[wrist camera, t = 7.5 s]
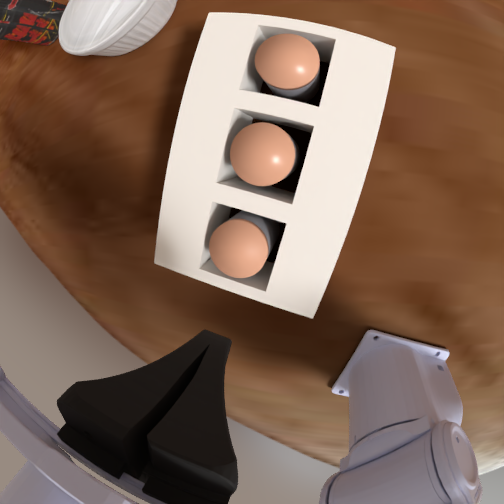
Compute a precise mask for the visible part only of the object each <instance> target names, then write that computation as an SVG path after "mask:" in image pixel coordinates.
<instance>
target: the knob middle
mask: <svg viewBox="0 0 504 504" xmlns="http://www.w3.org/2000/svg"><path fill="white" fill-rule="evenodd" d="M230 160H231V164H232V167H233V169H234V171H235V172H236V173H237V175H238V176H239V177H240V178H241V179H242V180H244V181H245V182H247V183H249V184H252V185H256V186H269V185H273V184H275V183H277V182H279V181H281V180H283V179H285V178H286V177H288V176H290V175H291V174H292V173H293V172H294V171H295V170H296V168H297V167H298V165H299V162H300V150H299V147H298V145H297V143H296V141H295V140H294V139H293V138H292V137H291V136H290V135H288V134H287V133H286V132H285V131H284V130H282V129H281V128H280V127H278V126H276V125H274V124H271V123H265V122H260V123H254V124H251V125H248V126H246V127H245V128H243V129H242V130H241V131H240V132H239V133H238V134H237V135H236V136H235V138H234V140H233V142H232V144H231V148H230Z"/></svg>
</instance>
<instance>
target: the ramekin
mask: <svg viewBox="0 0 504 504" xmlns="http://www.w3.org/2000/svg"><path fill="white" fill-rule="evenodd" d="M176 2H177V0H70V1H69V3H68V5H67V6H66V9H65V11H64V13H63V15H62V17H61V20H60V24H59V41H60V44H61V46H62V48H63V49H64V50H65V51H66V52H68V53H70V54H73V55H78V56H86V55H103V56H116V55H122V54H125V53H128V52H131V51H133V50H135V49H137V48H138V47H140V46H142V45H143V44H145V43H146V42H148V41H149V40H150V39H152V38H153V37H154V36H155V35H156V34H157V33H158V32H159V31H160V30H161V29H162V28H163V27H164V26H165V24H166V23H167V22H168V20H169V18H170V17H171V15H172V13H173V11H174V8H175V6H176Z"/></svg>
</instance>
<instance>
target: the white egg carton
mask: <svg viewBox="0 0 504 504" xmlns="http://www.w3.org/2000/svg"><path fill="white" fill-rule="evenodd" d="M278 34H295V35H299V36H302V37H304V38H306V39H307V40H309V41H310V42H311V43H312V44H313V45H314V46H315V48H316V49H317V51H318V54H319V59H320V61H322V62H326V63H330V66H329V70H328V74H327V78H326V82H325V86H324V90H323V94H322V98H321V102H320V105H319V107H317V106H313V105H310V104H306V103H302V102H298V101H294V100H290V99H286V98H281V97H277V96H272V95H267V94H262V93H260V91H261V87H262V84H263V79H262V77H261V76H260V75H259V73H258V71H257V69H256V66H255V54H256V52H257V50H258V48H259V46H260V45H261V44H262V43H263V42H264V41H265V40H267V39H268V38H270V37H272V36H275V35H278ZM394 55H395V47H393V46H390V45H388V44H385V43H382V42H380V41H377V40H374V39H371V38H368V37H365V36H362V35H359V34H355V33H352V32H349V31H345V30H341V29H338V28H334V27H330V26H326V25H321V24H317V23H312V22H307V21H302V20H296V19H290V18H283V17H276V16H267V15H257V14H244V13H209V15H208V17H207V20H206V23H205V26H204V28H203V31H202V34H201V37H200V40H199V43H198V46H197V49H196V52H195V56H194V59H193V62H192V65H191V69H190V72H189V76H188V79H187V83H186V87H185V90H184V94H183V98H182V102H181V106H180V110H179V114H178V118H177V122H176V127H175V131H174V136H173V141H172V146H171V150H170V156H169V161H168V166H167V172H166V177H165V183H164V189H163V196H162V202H161V209H160V217H159V224H158V232H157V241H156V250H155V260H154V263H155V264H158V265H160V266H163V267H165V268H168V269H170V270H173V271H176V272H178V273H181V274H184V275H186V276H189V277H192V278H194V279H197V280H200V281H202V282H205V283H208V284H211V285H213V286H216V287H219V288H222V289H225V290H227V291H230V292H233V293H236V294H239V295H242V296H245V297H248V298H251V299H253V300H256V301H259V302H262V303H265V304H268V305H271V306H274V307H277V308H280V309H284V310H287V311H290V312H293V313H296V314H299V315H302V316H306V317H309V318H312V319H313V317H314V315H315V313H316V310H317V308H318V306H319V303H320V301H321V299H322V296H323V294H324V291H325V289H326V286H327V284H328V282H329V279H330V277H331V274H332V272H333V269H334V266H335V264H336V261H337V259H338V256H339V253H340V251H341V248H342V245H343V243H344V240H345V237H346V234H347V231H348V229H349V226H350V223H351V220H352V217H353V214H354V211H355V208H356V205H357V202H358V199H359V196H360V193H361V190H362V186H363V183H364V180H365V177H366V173H367V170H368V167H369V163H370V160H371V156H372V153H373V149H374V145H375V141H376V138H377V134H378V130H379V126H380V122H381V118H382V114H383V109H384V105H385V101H386V96H387V91H388V87H389V82H390V77H391V71H392V66H393V60H394ZM253 119H258V120H263V121H267V122H271V123H276V124H280V125H284V126H288V127H292V128H295V129H299V130H303V131H306V132H310V133H312V136H311V139H310V143H309V147H308V150H307V154H306V158H305V161H304V165H303V168H302V172H301V175H300V179H299V183H298V186H297V190H296V193H293V192H289V191H286V190H283V189H279V188H276V187H272V186H256V185H252V184H249V183H247V182H245V181H244V180H242V179H241V178H240V177H239V176H238V175H237V173H236V172H235V171H234V169H233V167H232V164H231V160H230V148H231V144H232V142H233V140H234V138H235V136H236V135H237V134H238V133H239V132H240V131H241V130H242V129H243V128H245V127H246V126H248V125H251V124H252V121H253ZM231 207H233V208H237V209H240V210H242V211H240V212H239V213H237V214H236V215H234V216H233V217H232V218H230V219H229V215H230V211H231ZM278 221H280V222H283V223H286V227H285V231H284V234H283V237H282V241H281V244H280V247H279V251H278V254H277V257H276V261H275V264H274V263H271V262H268V261H266V260H267V258H268V256H269V254H270V252H271V250H272V248H273V246H274V244H275V243H276V241H277V239H278V236H279V231H280V228H279V223H278Z"/></svg>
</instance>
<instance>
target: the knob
mask: <svg viewBox="0 0 504 504" xmlns="http://www.w3.org/2000/svg"><path fill="white" fill-rule="evenodd" d="M255 66H256V69H257V71H258V73H259V75H260V76H261V77H262V79H263V80H264V81H265V82H266V84H267V85H268V87H269V88H270V89H271V91H272V92H273V93H274V95H275V96H277V97H281V98H286V99H290V100H294V101H298V102H302V103H305V102H307V101H309V100H311V99H312V98H313V97H314V96H315V95H316V94H317V92H318V90H319V86H320V59H319V54H318V51H317V49H316V48H315V46H314V45H313V44H312V43H311V42H310V41H309V40H307V39H306V38H304V37H302V36H299V35H295V34H278V35H275V36H272V37H270V38H268V39H267V40H265V41H264V42H263V43H262V44H261V45H260V46H259V48H258V50H257V52H256V54H255Z"/></svg>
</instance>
